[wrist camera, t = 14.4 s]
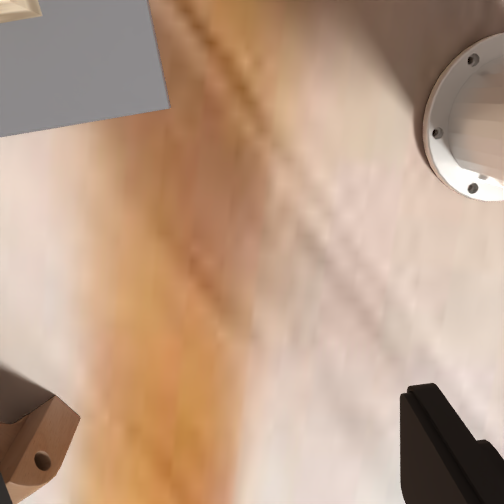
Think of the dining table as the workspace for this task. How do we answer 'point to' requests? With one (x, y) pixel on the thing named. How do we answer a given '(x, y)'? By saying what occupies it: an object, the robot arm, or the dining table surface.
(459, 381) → the dining table surface
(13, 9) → the cream square box
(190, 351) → the dining table surface
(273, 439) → the dining table surface
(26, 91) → the grey peg base
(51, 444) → the wooden toy
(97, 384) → the dining table surface
